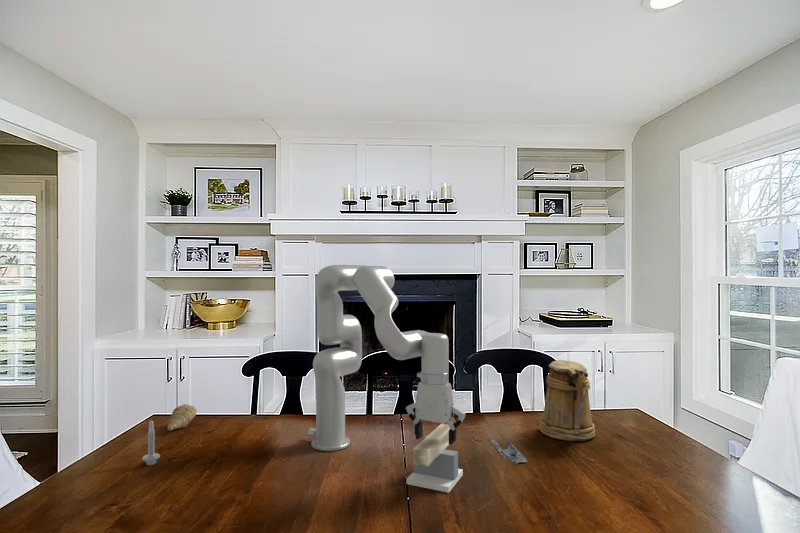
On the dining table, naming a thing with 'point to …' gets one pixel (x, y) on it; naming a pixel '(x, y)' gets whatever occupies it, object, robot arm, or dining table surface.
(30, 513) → the dining table surface
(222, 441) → the dining table surface
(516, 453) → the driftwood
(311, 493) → the dining table surface
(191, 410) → the seashell
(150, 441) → the screw
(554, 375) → the tankard
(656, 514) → the dining table surface
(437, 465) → the ridge
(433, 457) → the rod
